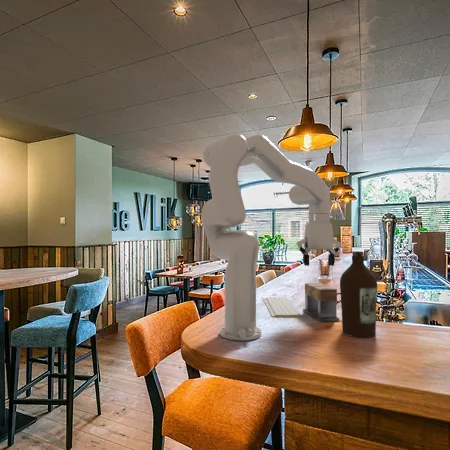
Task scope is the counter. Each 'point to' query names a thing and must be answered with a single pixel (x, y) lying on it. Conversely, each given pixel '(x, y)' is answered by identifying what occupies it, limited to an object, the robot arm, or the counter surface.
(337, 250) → the robot arm
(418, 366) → the counter surface
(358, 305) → the olive oil
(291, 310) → the baseboard molding
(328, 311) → the grey flat-based fixture
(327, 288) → the shelf board
